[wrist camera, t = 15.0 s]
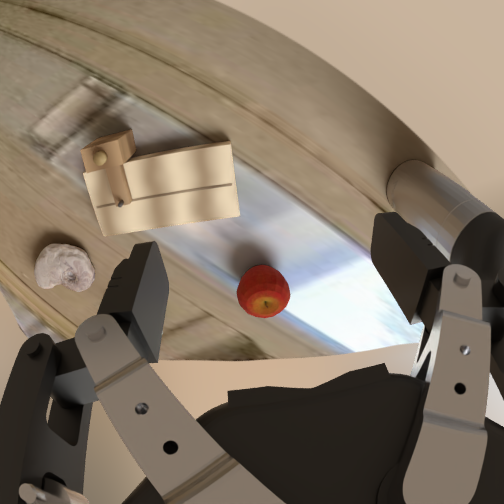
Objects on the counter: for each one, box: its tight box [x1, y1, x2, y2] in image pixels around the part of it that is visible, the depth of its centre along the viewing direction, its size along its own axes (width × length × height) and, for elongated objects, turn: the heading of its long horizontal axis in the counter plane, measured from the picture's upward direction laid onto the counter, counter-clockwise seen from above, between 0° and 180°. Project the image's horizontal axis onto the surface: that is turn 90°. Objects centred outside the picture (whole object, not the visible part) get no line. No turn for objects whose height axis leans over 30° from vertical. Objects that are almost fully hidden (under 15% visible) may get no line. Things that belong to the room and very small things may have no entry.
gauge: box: [80, 129, 136, 207], centre depth 35 cm, size 5×9×7 cm, turn 6°
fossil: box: [34, 244, 95, 292], centre depth 44 cm, size 12×4×10 cm
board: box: [83, 141, 240, 237], centre depth 39 cm, size 20×10×2 cm, turn 96°
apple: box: [237, 265, 290, 318], centre depth 47 cm, size 8×8×8 cm
